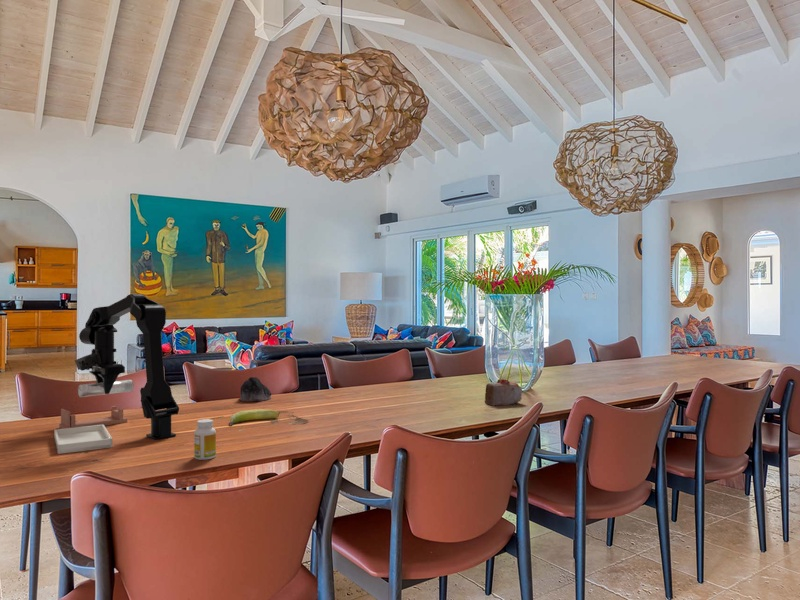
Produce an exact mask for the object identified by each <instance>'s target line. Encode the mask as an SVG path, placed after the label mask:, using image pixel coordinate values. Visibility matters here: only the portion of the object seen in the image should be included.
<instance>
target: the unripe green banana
mask: <svg viewBox="0 0 800 600" xmlns="http://www.w3.org/2000/svg"><path fill="white" fill-rule="evenodd" d="M281 414H284V415H286V416H287V417H285V416H283V419H284V418H288V419H290V420H292V419H293V420H294V421H295V422H294V421H292V422H290V423H288V425H304V424H306V423H308V422H309V420H308V419H305V418H303V417H298V416H295V415H294V412H293V411H292V412H291V413H290V412H289V411H288V410H287V411H286V410H274V409H263V408H262V409H259V408H258V409H257V408H256V409H248V410H241V411H237V412H235V413H234V414H231V416H230V418H229V421H230V422H229V423H228V425H229V426H230V427H231V426H234V425H236V424H240V423H244V422H245V423H246V422H251V421H261V420H262V421H264V420H269V422H270V423H269V424H270V425H272V424H274V423H275V424H277V423H279V422H281V421H280V419H277V418H279V417H280V416H279V415H281ZM224 417H225V416H223V415H222V416H218V417H213V418H212V417H211V418H210V419H211V420H214V419H221V418H224ZM277 427H280V425H279V424H278V425H277ZM246 428H247V427H246ZM246 428H244V429H242V428H240V429H239V430H238V432H241V431H244V430H246ZM247 429H249V428H247Z"/></svg>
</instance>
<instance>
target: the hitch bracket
mask: <svg viewBox="0 0 800 600" xmlns="http://www.w3.org/2000/svg"><path fill="white" fill-rule="evenodd" d="M110 415H111V416H105V417H98V418H89V419H83V420H78V421H76V414H71V411H69V410H67V409H65V408H63V407H62V408H61V409H60V423H59V424H58V429H65V428H74V427H84V426H94V425H103V424H104V426H105V427H106V426H110V425H117V424H124V423H128V418H127V417H125V416H124V408H118V409H117V405H114V406H113V405H112V406H110Z"/></svg>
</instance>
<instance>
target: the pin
mask: <svg viewBox="0 0 800 600" xmlns="http://www.w3.org/2000/svg"><path fill="white" fill-rule="evenodd" d="M134 387H135V386H134V382H133V380H132V379H122V380H115V382H114V384H113V386H112V388H111V390H110V392H109V394H108V395H112V394H118V393H119V394H120V393H130V392H133V391H134ZM77 393H78V396H79V398H87V397H96V396H103V395H104V396H105V395H106V394H105V391H104V385H103V382H102V383H97V382H96V383H95V382H94V383H85V384H78V387H77Z"/></svg>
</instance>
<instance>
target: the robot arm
mask: <svg viewBox="0 0 800 600" xmlns="http://www.w3.org/2000/svg"><path fill="white" fill-rule="evenodd" d="M128 313H130V315H132V317H134V319H135V323H136V327H137V328H138V329H139V330H140V332H141V333H142V334H143V347H144V349H143V350H144V360H145V363H144V364H145V372H146V383H145V385H144V387H140V391H139V392H140V403H141V409H142V414H143V417H144V418H145V419H150V433H146V437H148V438H151V439H153V440H160V439H165V438H171V437H176V436H177V433H174V432H172V416H173V415H178V414H179V411H180V407H179V406H178V403H177V401H176V400H175V398H174V397H173V394H172V388H171V387H170V385H169V384H168V382H167V381H166V379H165V370H164V369H165V368H164V357H163V356H164V354H163V346H162V345H163V342H162V341H163V340H162V332H163V329H164V328H165V325H166V324H167V323H166V319H167V311H166V308H165V307H164V306H163V305H162V304H160V303H159V302H157V301H155V300H152V299H150V298H148V297H147V296H146V295H145V294H142V293H130V294H127V296H125V297H124V298H122V299H120V300H118V301H116V302H114V303H112V304H110V305H107V306H98V307H94V308H93V309H92V311H91V312H90V313H89V316H88V319H87V320H86V322H85V327H83V329H81V330H80V333H79V336H78V337H79V341H80V342H81V343H82V344H85V345H92V346H93V345H94V348H92V349H91V353H90V354H87V355H84V356H82V357H80V358H78V359H75V360H74V363H75V365H76V368H77V370H80V371H89V374H92V375H93V376H94V378H95V381H96V383H102V382H103V385H104V391H105V395H110V394H109V392H110V390H111V388H112V386H113V384H114V382H115V381H117V379H118V376H119V375H120V374H125V373H126V367H125V365H123V364H121V363H117V360H115V353H117V348H115V333H118V329H117V328H116V327H114V325H115V324H117V323H118V322H119V321H120V320H121V317H122V316H125V315H126V314H128Z"/></svg>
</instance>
